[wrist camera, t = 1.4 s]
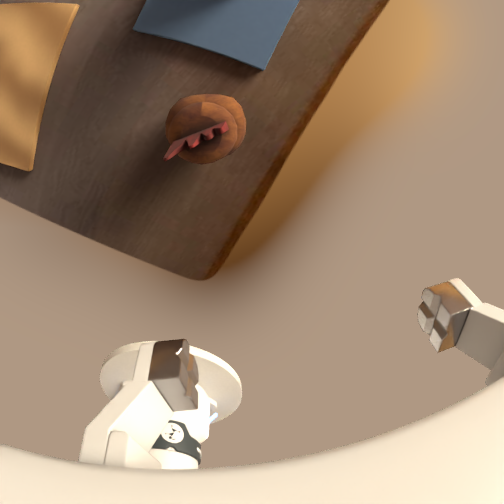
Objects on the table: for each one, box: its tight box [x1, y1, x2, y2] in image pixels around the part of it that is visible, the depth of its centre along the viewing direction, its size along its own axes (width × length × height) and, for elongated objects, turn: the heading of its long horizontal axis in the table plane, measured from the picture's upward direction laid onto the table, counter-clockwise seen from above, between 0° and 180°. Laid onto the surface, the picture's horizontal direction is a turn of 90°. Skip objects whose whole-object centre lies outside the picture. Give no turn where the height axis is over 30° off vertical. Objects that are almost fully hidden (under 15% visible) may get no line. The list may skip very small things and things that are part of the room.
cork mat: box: [0, 3, 79, 171], centre depth 21 cm, size 20×16×1 cm
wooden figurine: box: [163, 94, 246, 164], centre depth 22 cm, size 7×6×15 cm
